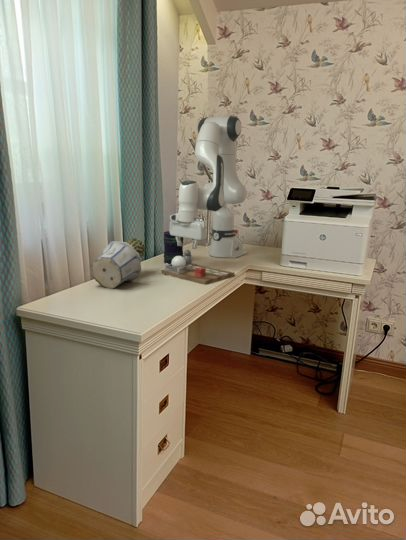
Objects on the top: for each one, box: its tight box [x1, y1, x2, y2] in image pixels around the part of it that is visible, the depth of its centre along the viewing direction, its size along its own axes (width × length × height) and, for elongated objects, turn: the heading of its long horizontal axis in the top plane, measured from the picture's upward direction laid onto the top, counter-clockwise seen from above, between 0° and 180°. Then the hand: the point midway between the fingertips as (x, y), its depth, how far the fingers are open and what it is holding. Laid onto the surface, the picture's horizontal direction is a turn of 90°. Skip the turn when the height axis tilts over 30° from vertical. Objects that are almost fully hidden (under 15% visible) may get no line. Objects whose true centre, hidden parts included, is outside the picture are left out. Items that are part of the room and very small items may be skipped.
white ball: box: [171, 256, 186, 268], centre depth 190 cm, size 6×6×6 cm
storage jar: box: [163, 230, 184, 265], centre depth 213 cm, size 10×10×15 cm
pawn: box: [183, 249, 192, 265], centre depth 198 cm, size 4×4×8 cm
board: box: [160, 262, 235, 285], centre depth 190 cm, size 20×26×5 cm
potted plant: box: [90, 237, 146, 289], centre depth 177 cm, size 18×18×30 cm
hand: (187, 247), depth 197 cm, fingers open, 8 cm apart
